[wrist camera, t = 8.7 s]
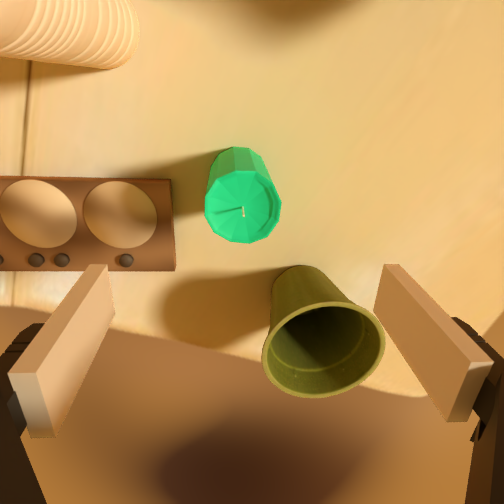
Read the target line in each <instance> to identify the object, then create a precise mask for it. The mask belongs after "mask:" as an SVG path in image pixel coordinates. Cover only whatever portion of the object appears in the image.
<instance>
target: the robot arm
mask: <svg viewBox="0 0 504 504" xmlns="http://www.w3.org/2000/svg"><path fill="white" fill-rule="evenodd" d="M373 312H374V313H375V315H376V316H377V318H378V319H379V321H380V322H381V324H382V325H383V327H384V328H385V330H386V331H387V333H388V334H389V336H390V337H391V339H392V340H393V342H394V343H395V345H396V346H397V348H398V349H399V351H400V353H401V354H402V356H403V357H404V359H405V360H406V362H407V363H408V365H409V366H410V368H411V369H412V371H413V372H414V374H415V375H416V377H417V378H418V380H419V381H420V383H421V384H422V386H423V387H424V389H425V390H426V392H427V394H428V395H429V397H430V398H431V400H432V401H433V403H434V404H435V405H436V407H437V409H438V410H439V412H440V413H441V415H442V416H443V418H444V419H445V421H446V422H466V421H467V420H468V418H469V416H470V414H471V412H472V409H473V410H474V411H475V412H476V414H477V415H478V416H479V417H480V420H479V422H478V424H477V426H476V428H475V431H474V433H473V435H472V437H471V439H470V441H472V442H474V447H473V453H472V460H471V466H470V473H469V479H468V485H467V492H466V499H465V504H504V359H503V358H502V357H501V356H500V355H499V354H498V353H497V352H496V351H495V350H494V349H493V348H492V347H491V346H490V345H489V344H488V343H486V342H485V340H484V339H483V338H482V337H481V336H480V335H479V336H478V333H477V332H476V331H475V330H474V329H473V328H472V327H471V326H470V325H468V324H467V323H465V322H463V321H462V320H460V319H458V318H457V317H450V316H449V315H448V314H447V313H446V312H445V311H444V310H443V309H442V308H441V307H440V306H439V305H438V304H437V303H436V302H435V301H434V300H433V299H432V298H431V297H430V296H429V295H428V294H427V293H426V292H425V291H424V290H423V289H422V288H421V286H420V285H419V284H418V283H417V282H416V281H415V280H414V279H413V278H412V277H411V276H410V275H409V274H408V273H407V272H406V271H405V270H404V269H403V268H402V267H401V266H400V265H399V264H384V266H383V270H382V274H381V279H380V283H379V287H378V292H377V296H376V300H375V305H374V309H373ZM114 315H115V309H114V303H113V297H112V291H111V285H110V279H109V273H108V266H107V264H90V265H89V266H88V267H87V269H86V270H85V271H84V273H83V274H82V275H81V277H80V278H79V279H78V281H77V282H76V283H75V285H74V286H73V287H72V289H71V290H70V291H69V292H68V294H67V295H66V296H65V298H64V299H63V300H62V302H61V303H60V304H59V306H58V307H57V308H56V310H55V311H54V312H53V314H52V315H51V316H50V318H49V319H48V320H47V322H46V323H39V324H38V323H36V324H32V325H30V326H29V327H27V328H26V329H24V330H23V331H22V332H20V333H19V335H18V336H17V337H16V338H15V339H14V341H13V342H12V344H11V345H9V347H8V348H7V349H6V350H5V353H3V354H2V355H1V356H0V504H47V503H46V500H45V498H44V496H43V493H42V490H41V488H40V486H39V483H38V481H37V478H36V476H35V473H34V471H33V468H32V466H31V463H30V461H29V458H28V456H27V454H26V451H25V448H24V446H23V444H22V441H21V439H20V436H21V434H22V432H23V431H24V429H25V428H26V426H27V429H28V431H29V435H30V437H31V438H52V437H56V436H57V434H58V432H59V430H60V428H61V426H62V423H63V422H64V419H65V417H66V415H67V413H68V411H69V409H70V407H71V405H72V403H73V401H74V399H75V396H76V394H77V392H78V390H79V388H80V386H81V384H82V382H83V380H84V378H85V376H86V374H87V371H88V369H89V367H90V365H91V363H92V361H93V359H94V357H95V355H96V352H97V351H98V348H99V346H100V344H101V342H102V340H103V338H104V336H105V334H106V332H107V330H108V328H109V326H110V324H111V321H112V319H113V317H114Z"/></svg>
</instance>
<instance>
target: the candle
mask: <svg viewBox="0 0 504 504" xmlns="http://www.w3.org/2000/svg"><path fill="white" fill-rule="evenodd" d="M280 210H281V200H280V198H279V195H278V193H277V191H276V189H275V186H274V184H273V182H272V180H271V178H270V175H269V173H268V171H267V169H266V167H265V164H264V162H263V160H262V158H261V156H259V155H258V154H256V153H255V152H254V151H252V150H251V149H249V148H243V147H232V148H230V149H228V150H225V151H223V152H221V153H219V155H218V156H217V158H216V159H215V161H214V163H213V164H212V166H211V169H210V174H209V179H208V184H207V190H206V195H205V218H206V219H207V221H208V223H209V225H210V226H211V228H212V230H213V232H214V233H216V234H218V235H219V236H221V237H223V238H225V239H227V240H228V241H230V242H239V243H249V244H250V243H252V242H255V241H258V240H261V239H263V238H266V237H268V236H269V234H270V233H271V231H272V230H273V229H274V227H275V226H276V224H277V223H278V222H279V217H280Z"/></svg>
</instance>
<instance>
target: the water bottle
mask: <svg viewBox="0 0 504 504" xmlns="http://www.w3.org/2000/svg"><path fill="white" fill-rule="evenodd" d="M138 42H139V23H138V18H137V15H136V12H135V10H134V8H133V6H132V4H131V2H130V1H129V0H0V57H7V58H16V59H24V60H33V61H39V62H46V63H57V64H63V65H73V66H82V67H91V68H99V69H112V68H117V67H119V66H121V65H123V64H125V63H126V62H127V61H128V60H129V59H130V58H131V57H132V55H133V54H134V53H135V51H136V48H137V45H138Z"/></svg>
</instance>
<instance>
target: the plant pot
mask: <svg viewBox="0 0 504 504" xmlns="http://www.w3.org/2000/svg"><path fill="white" fill-rule="evenodd" d="M385 343H386V342H385V334H384V330H383V328H382V326H381V324H380V322H379V321H378V320H377V318H376V317H375V316H374V315H373V314H371V313H370V312H369V311H367V310H366V309H364V308H362V307H360V306H358V305H356V304H355V303H353V302H352V301H350V300H349V299H348V298H347V297H346V296H345V295H344V294H343V293H342V292H341V291H340V290H339V289H338V288H337V287H336V286H335V285H334V284H333V283H332V282H331V280H330V279H329V278H328V277H327V276H326V275H325V274H324V273H323V272H321V271H320V270H319V269H317V268H314V267H311V266H295V267H292V268H289V269H287V270H286V271H284V272H283V273H282V274H281V275H280V276H279V277H278V278H277V279H276V280H275V282H274V284H273V287H272V291H271V313H270V328H269V332H268V336H267V338H266V340H265V342H264V345H263V349H262V366H263V369H264V372H265V374H266V375H267V377H268V379H269V380H270V381H271V382H272V383H273V384H274V385H275V386H276V387H277V388H279V389H281V390H282V391H284V392H286V393H288V394H291V395H294V396H298V397H305V398H323V397H328V396H332V395H336V394H340V393H343V392H345V391H347V390H349V389H351V388H353V387H355V386H357V385H359V384H360V383H362V382H363V381H364V380H365V379H366V378H367V377H368V376H370V375H371V374H372V373H373V372H374V370H375V369H376V368H377V366H378V365H379V363H380V361H381V359H382V357H383V354H384V350H385Z"/></svg>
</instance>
